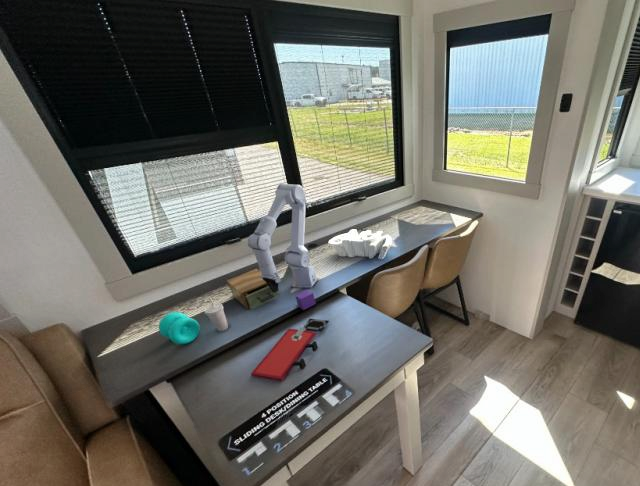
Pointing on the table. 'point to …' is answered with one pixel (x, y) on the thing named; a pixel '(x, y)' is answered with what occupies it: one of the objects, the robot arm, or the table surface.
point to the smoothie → (217, 315)
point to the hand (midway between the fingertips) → (275, 291)
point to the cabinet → (245, 285)
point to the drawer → (260, 296)
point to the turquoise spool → (179, 328)
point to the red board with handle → (289, 351)
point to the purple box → (305, 299)
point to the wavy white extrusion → (361, 244)
